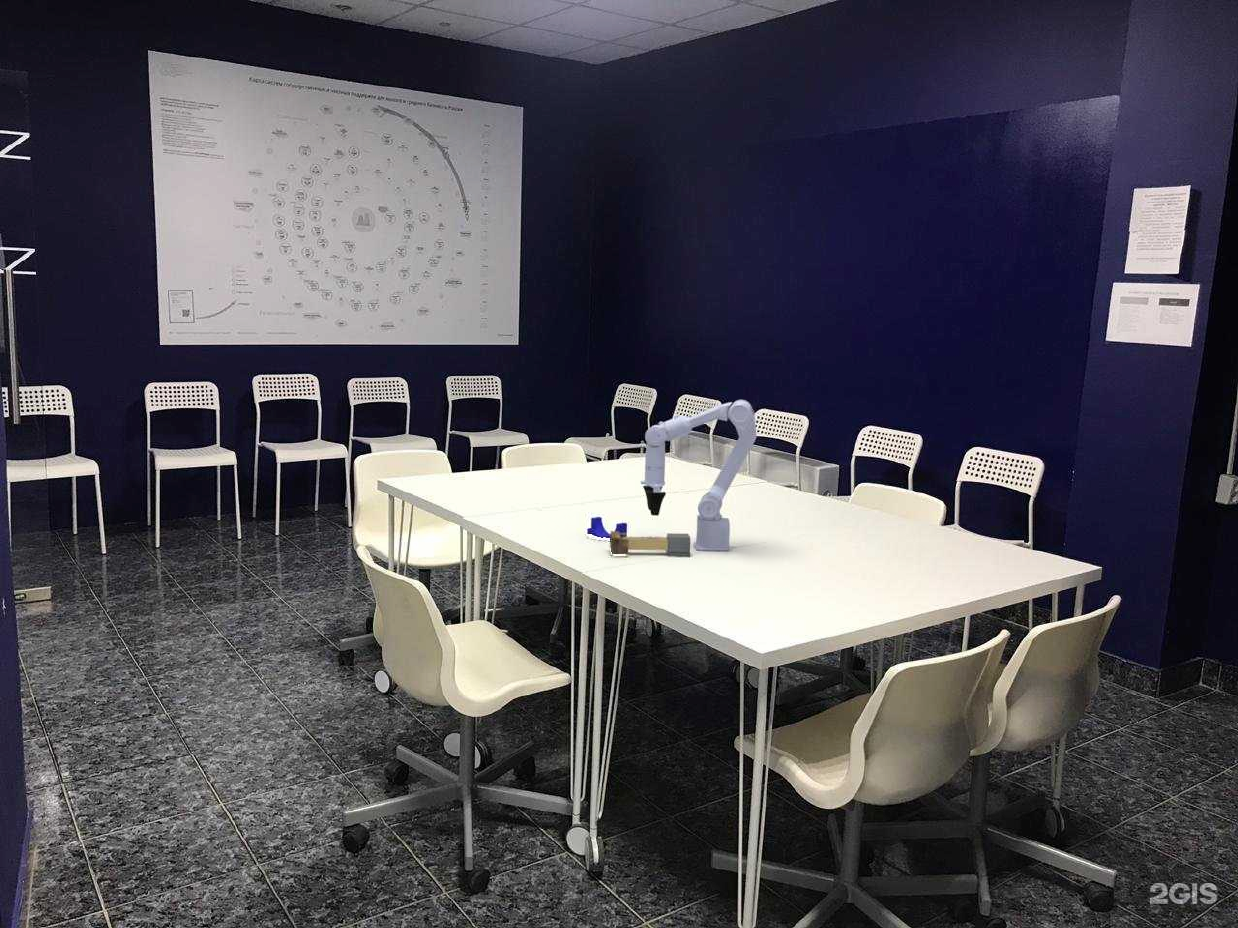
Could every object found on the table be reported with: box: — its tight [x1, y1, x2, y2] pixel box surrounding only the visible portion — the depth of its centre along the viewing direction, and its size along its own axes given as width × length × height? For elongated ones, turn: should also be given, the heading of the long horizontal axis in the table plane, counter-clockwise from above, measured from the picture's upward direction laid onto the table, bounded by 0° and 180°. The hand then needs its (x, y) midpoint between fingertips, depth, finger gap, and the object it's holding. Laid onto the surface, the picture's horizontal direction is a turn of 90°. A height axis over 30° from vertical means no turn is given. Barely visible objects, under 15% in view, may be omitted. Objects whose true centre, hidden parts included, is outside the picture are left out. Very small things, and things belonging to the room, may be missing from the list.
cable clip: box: [586, 516, 628, 538], centre depth 296 cm, size 12×4×6 cm, turn 46°
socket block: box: [609, 530, 629, 556], centre depth 280 cm, size 4×8×6 cm, turn 4°
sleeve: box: [665, 532, 691, 558], centre depth 282 cm, size 6×6×5 cm
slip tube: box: [620, 536, 669, 551], centre depth 281 cm, size 14×3×3 cm, turn 94°
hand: (653, 512), depth 292 cm, fingers open, 7 cm apart
